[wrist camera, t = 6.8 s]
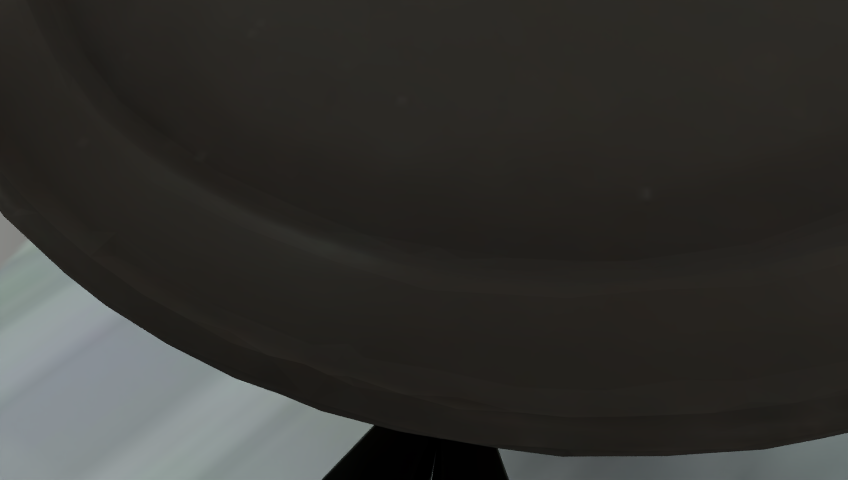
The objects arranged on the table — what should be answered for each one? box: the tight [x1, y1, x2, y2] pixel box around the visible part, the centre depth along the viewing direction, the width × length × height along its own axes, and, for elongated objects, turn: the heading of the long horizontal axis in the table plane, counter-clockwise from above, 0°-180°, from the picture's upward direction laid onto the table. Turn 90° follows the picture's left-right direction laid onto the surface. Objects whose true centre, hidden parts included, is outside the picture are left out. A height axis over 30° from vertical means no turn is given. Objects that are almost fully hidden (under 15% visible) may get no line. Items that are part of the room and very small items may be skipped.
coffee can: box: [0, 0, 848, 457], centre depth 10 cm, size 10×10×14 cm
